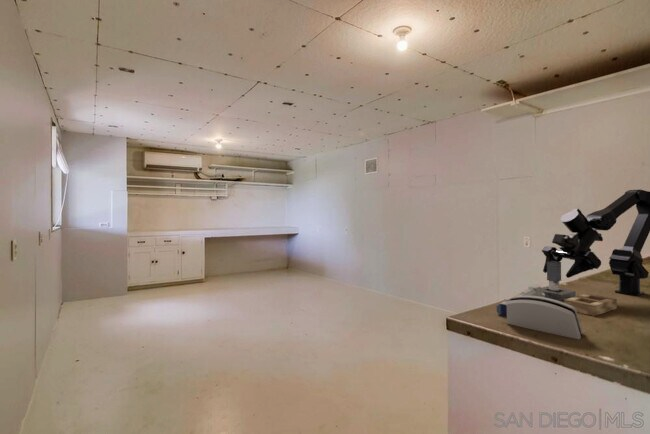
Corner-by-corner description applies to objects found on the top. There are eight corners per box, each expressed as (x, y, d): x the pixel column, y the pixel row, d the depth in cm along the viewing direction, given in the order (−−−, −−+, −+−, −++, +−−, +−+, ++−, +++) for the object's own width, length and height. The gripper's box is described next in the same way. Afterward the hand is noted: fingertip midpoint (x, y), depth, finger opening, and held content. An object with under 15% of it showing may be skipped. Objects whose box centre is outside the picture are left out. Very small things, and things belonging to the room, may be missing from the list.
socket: (547, 294, 122) (547, 286, 122) (575, 299, 114) (575, 291, 114) (533, 297, 117) (533, 289, 117) (561, 303, 109) (561, 294, 109)
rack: (586, 302, 110) (586, 293, 110) (616, 308, 103) (616, 298, 103) (564, 309, 104) (564, 299, 104) (594, 316, 97) (594, 305, 97)
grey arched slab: (584, 334, 83) (581, 299, 81) (580, 345, 80) (577, 310, 78) (512, 319, 96) (507, 288, 93) (506, 328, 93) (501, 297, 90)
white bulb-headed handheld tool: (493, 301, 101) (530, 279, 115) (494, 322, 102) (531, 297, 116) (511, 305, 97) (547, 281, 111) (512, 327, 97) (548, 300, 112)
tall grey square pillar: (552, 297, 118) (551, 260, 117) (561, 299, 115) (560, 261, 115) (547, 298, 116) (546, 261, 116) (556, 300, 113) (556, 262, 113)
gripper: (545, 225, 125) (520, 255, 123) (593, 227, 107) (564, 262, 105) (563, 245, 127) (538, 275, 125) (614, 250, 108) (585, 286, 107)
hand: (555, 274), depth 115 cm, fingers open, 9 cm apart
